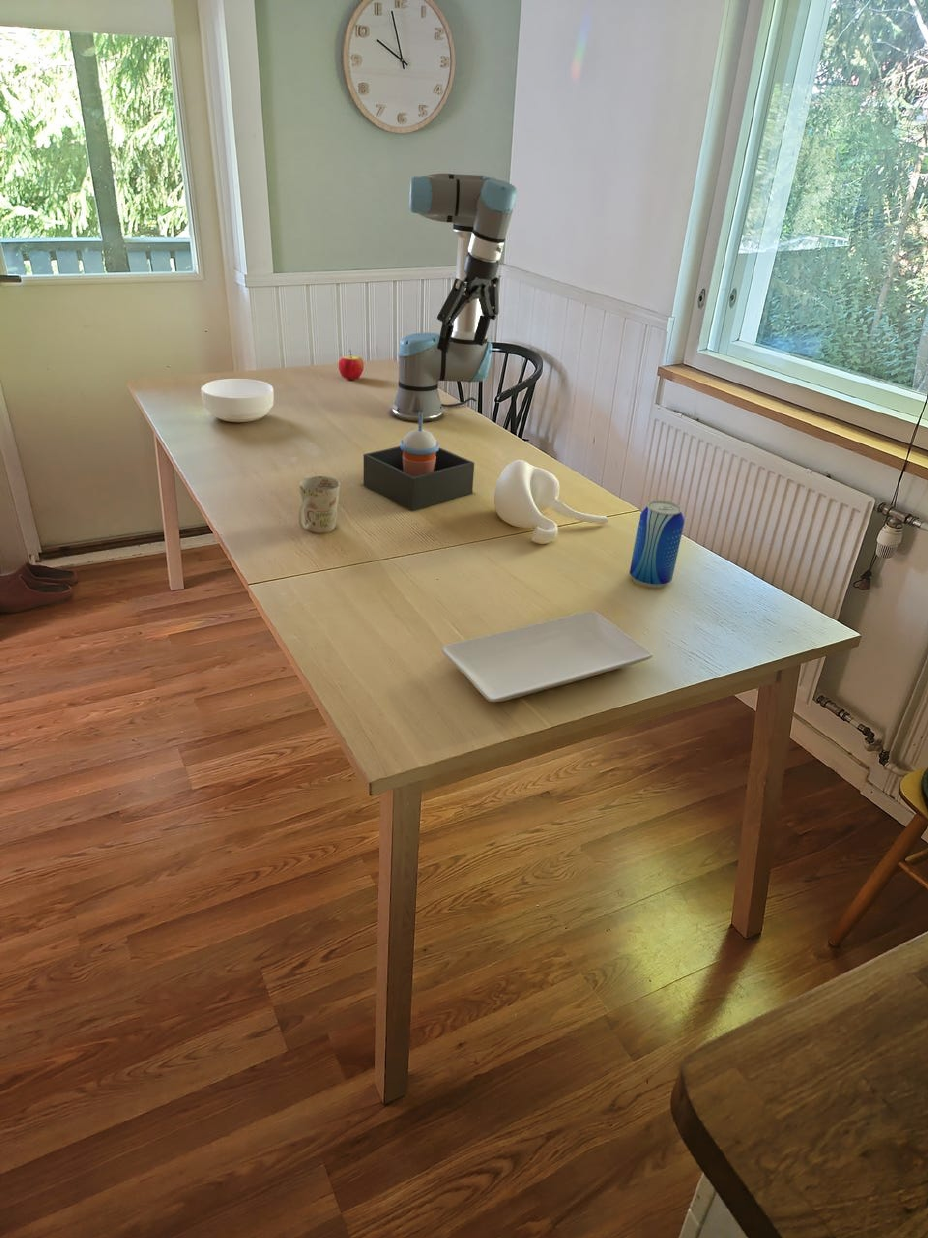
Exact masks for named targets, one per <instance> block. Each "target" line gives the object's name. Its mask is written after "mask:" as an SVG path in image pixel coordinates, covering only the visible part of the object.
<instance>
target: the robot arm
mask: <svg viewBox="0 0 928 1238" xmlns="http://www.w3.org/2000/svg"><path fill="white" fill-rule="evenodd" d="M517 196H518V189H517V187H516V186H515V185H513V184H512V183H511V182H508V181H506V180H502V179H498V178H496V177H494V176H493V177H490V176H487V175H474V174H473V175H471V174H456V173H454V174H452V173H435V174H428V175H421V176H412V177H411V178H410V180H409V211H410V212H411V213H413V214H417V215H419V216H421V217H424V218H426V219H429V220H432V221H436V222H441V223H451V224H453V226H452V231H453V233H455V235H456V236H457V253H456V270H455V271H456V272H455V275H456V276H455V278H454V282H453V284H452V288H451V290H450V292H449V293H448V295H447V297H446V299H445V302H444V303H443V304H442V307H441V308H440V310H439V312H438V314H437V316H436V320H437V321H439V322H440V323H441V327H440V332H439V333H436V332H417V333H410V334H409V335H406V336H404V337H402V338H401V340H400V342H399V352H398V358H399V360H398V361H399V362H398V387H397V391H396V395H395V398H394V402H393V403H392V405H391V414H392V416H393V417H395V418H396V419H399V420H402V421H406V422H415V423H416V422H417V423H419V412H423V422H422V423H428V422H435V421H437V420H440V419H441V418H442V417H443V412H444V411H443V408H453V407H458V406H462V405H464V404H467V403H468V402H470V401H473V402H477V399H476V398H474V397H468V398H467V399H465V400H464V401H461V402H457V403H452V404H451V403H450V404H445V403H442V402H441V398H440V394H439V390H438V389H439V382H453V383H454V382H456V383H468V384H471V383H482V382H484V381H485V380H486V379H487V377H488V374H489V371H490V367H491V361H492V357H493V355H492V353H493V343H492V342H490V341H489V340H488V337H489V336H488V334H487V333H488V330H489V328H490V324H491V321H495V320H496V318H497V316H498V315H499V312H500V308H499V307H500V306H499V283H500V278H499V277H497V272H498V269H499V265H500V263H499V260H500V259H501V257H502V252H503V249H504V245H505V242H506V237H507V235H508V230H509V226H510V222H511V220H512V215H513V213H514V209H515V207H516V201H517Z"/></svg>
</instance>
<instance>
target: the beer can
mask: <svg viewBox="0 0 928 1238" xmlns="http://www.w3.org/2000/svg"><path fill="white" fill-rule="evenodd" d="M682 511H683V508H682V506H680V505H679V504H678V503H675V502H673V501H670V500H663V499H654V500H651V501H648V502H647V503H646V507H645V508H644V509H643V510H641V512H640V515H639V520H638V525H637V531H636V535H635V541H634V547H633V552H632V557H631V562H630V567H629V574H630V576H631V578H632V581H633V582H634V583H635V585H637V586H640V587H642V588H645V589H650V590H658V589H659V590H660V589H664V588H666V586H668V584H669V583H670V582H672V580H673V577H674V573H675V572H674V571H675V567H676V562H677V557H678V554H679V549H680V544H681V540H682V535H683V530H684V526H685V518H684V515H683V513H682Z"/></svg>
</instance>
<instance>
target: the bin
mask: <svg viewBox="0 0 928 1238" xmlns="http://www.w3.org/2000/svg"><path fill="white" fill-rule="evenodd" d="M435 456H436V460H435V467H434V472H431V473H427V474H423V475H419V476H416V477H413V476H411V475H409V474H407V473H405V472H404V470H403V450H402V449H401V448H400V445H398V446H394V447H393V446H392V447H389V448H385V449H381V450H376V451H372V452H367V453H364V454H363V486H365V487H366V488H367V489H370V490H372V491H374V492H376V493H377V494H379V495H381V496H383V497H385V498H387V499H389V500H391V501H392V502H395V503H397V504H398V505H400V506H402V507H404V508H406V509H408V510H410V511H417V510H420V509H424V508H427V507H430V506H435V505H439V504H440V503H444V502H448V501H452V500H454V499H458V498H462V497H465V496H468V495H469V496H470V495H472V494H473V486H474V474H475V462H473V460H472V461H471V460H470V459H467V458H464V457H462V456H460V455H458V454H455V453H453V452H451V451H449V450H447V449H444V448H441V447H439V450H438V451H437V452H436V455H435Z"/></svg>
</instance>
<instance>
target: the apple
mask: <svg viewBox="0 0 928 1238" xmlns="http://www.w3.org/2000/svg"><path fill="white" fill-rule="evenodd" d="M348 351H349V354H350V355H346V356H345V355H344V356H341V357H340V358H339V359H338V364H337V365H338V370H339V371H338V372H339V373H340V375H341V376H342V378H344V379H345V380H348V381H356V380H358V379H359V378H360V377H361V376H362V375H363V371H364V368H365V367H364V365H365V364H364V360H363V358H362V357H361V356H358V355H352V353H351V350H350V349H349V350H348Z"/></svg>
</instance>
